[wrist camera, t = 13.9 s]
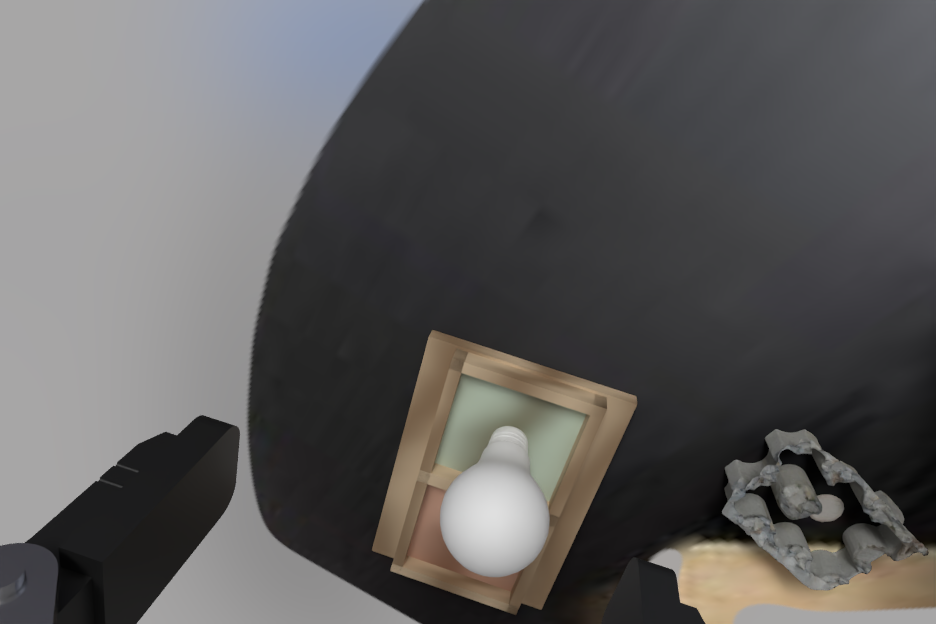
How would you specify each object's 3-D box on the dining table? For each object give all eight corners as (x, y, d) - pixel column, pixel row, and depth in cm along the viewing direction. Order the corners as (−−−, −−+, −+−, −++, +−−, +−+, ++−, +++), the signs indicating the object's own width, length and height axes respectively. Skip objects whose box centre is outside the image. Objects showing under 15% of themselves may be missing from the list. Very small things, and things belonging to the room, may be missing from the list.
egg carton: (908, 510, 40) (941, 558, 36) (809, 565, 43) (829, 614, 39) (798, 408, 38) (820, 447, 35) (702, 473, 42) (714, 515, 38)
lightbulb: (513, 486, 43) (491, 619, 33) (448, 432, 42) (405, 552, 32) (575, 437, 41) (571, 566, 31) (507, 379, 40) (480, 492, 30)
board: (636, 396, 40) (638, 416, 38) (542, 599, 49) (539, 625, 46) (432, 329, 41) (423, 346, 38) (375, 541, 49) (365, 564, 47)
